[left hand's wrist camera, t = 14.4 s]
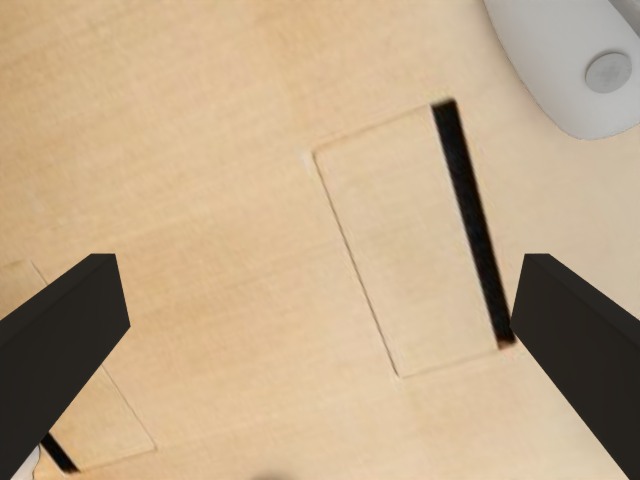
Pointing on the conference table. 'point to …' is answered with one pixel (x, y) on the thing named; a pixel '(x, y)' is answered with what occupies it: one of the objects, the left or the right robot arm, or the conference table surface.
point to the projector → (576, 60)
